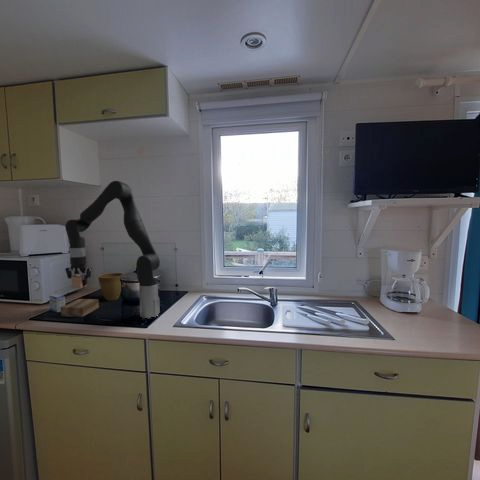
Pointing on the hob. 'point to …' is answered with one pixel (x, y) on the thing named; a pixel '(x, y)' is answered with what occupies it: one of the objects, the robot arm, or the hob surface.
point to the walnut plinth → (79, 307)
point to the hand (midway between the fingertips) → (79, 285)
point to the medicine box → (56, 302)
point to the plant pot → (110, 285)
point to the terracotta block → (77, 282)
